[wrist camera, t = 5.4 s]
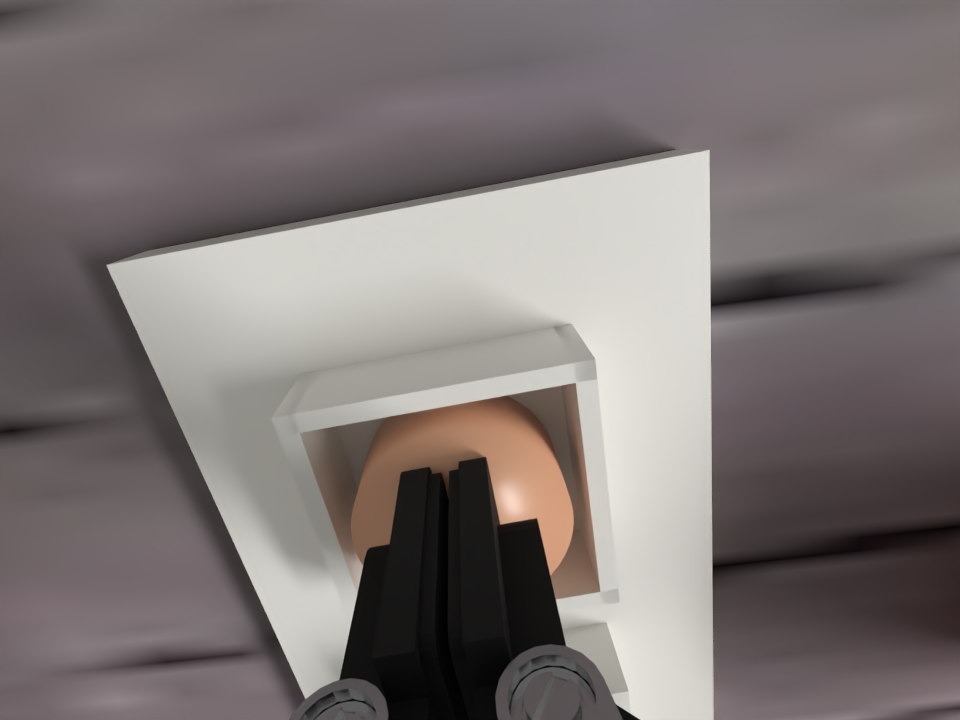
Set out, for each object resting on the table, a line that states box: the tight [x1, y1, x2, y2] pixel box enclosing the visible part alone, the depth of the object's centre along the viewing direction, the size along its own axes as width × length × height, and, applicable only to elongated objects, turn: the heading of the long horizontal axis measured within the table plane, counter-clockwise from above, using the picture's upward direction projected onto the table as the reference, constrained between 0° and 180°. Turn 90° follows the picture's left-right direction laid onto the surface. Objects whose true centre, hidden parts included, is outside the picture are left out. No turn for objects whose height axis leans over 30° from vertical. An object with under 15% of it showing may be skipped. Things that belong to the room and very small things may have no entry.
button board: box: [106, 149, 713, 720], centre depth 16 cm, size 12×30×4 cm, turn 10°
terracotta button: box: [351, 396, 574, 576], centre depth 11 cm, size 4×4×2 cm
